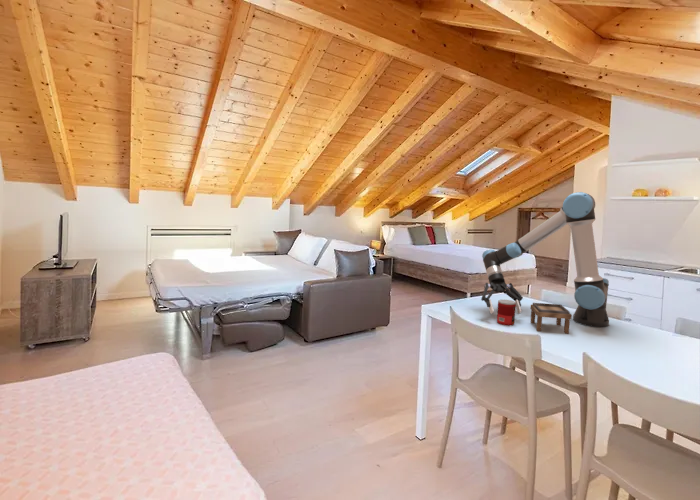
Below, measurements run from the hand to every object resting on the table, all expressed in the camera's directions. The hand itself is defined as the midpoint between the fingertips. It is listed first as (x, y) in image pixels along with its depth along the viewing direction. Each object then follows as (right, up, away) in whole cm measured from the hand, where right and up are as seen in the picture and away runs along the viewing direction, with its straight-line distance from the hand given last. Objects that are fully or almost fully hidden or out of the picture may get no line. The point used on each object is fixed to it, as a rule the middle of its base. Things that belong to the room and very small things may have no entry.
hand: (506, 312), depth 183 cm
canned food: (0, -6, +2) cm, 6 cm away
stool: (+18, -6, -5) cm, 20 cm away
